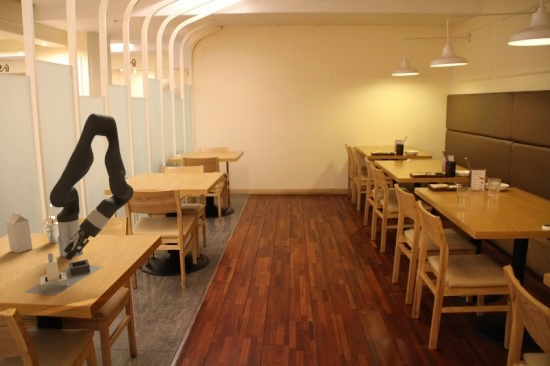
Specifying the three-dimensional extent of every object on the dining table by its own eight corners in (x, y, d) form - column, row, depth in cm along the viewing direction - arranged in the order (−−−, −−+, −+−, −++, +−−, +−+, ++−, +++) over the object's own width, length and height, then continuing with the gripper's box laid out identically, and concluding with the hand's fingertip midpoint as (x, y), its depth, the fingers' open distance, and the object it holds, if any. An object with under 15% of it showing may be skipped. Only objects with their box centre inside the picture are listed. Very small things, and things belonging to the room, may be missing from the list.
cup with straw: (41, 244, 219) (35, 206, 215) (53, 238, 227) (48, 202, 223) (55, 244, 217) (50, 207, 213) (67, 239, 225) (62, 202, 221)
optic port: (41, 292, 160) (40, 284, 159) (40, 283, 167) (39, 276, 167) (67, 286, 164) (66, 278, 163) (66, 278, 172) (65, 271, 171)
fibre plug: (48, 288, 163) (44, 256, 161) (48, 284, 167) (43, 253, 164) (60, 285, 165) (56, 254, 162) (59, 282, 168) (55, 251, 166)
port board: (24, 295, 161) (24, 291, 160) (76, 267, 187) (75, 263, 187) (55, 299, 157) (54, 295, 157) (103, 269, 184) (103, 266, 183)
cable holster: (71, 275, 175) (70, 268, 174) (69, 269, 181) (69, 262, 180) (90, 271, 178) (89, 264, 178) (88, 265, 184) (87, 259, 184)
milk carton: (18, 253, 206) (12, 215, 202) (10, 251, 210) (4, 214, 206) (32, 248, 212) (27, 212, 208) (25, 246, 215) (19, 210, 212)
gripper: (84, 213, 174) (57, 245, 171) (89, 221, 162) (59, 256, 158) (100, 223, 177) (73, 254, 174) (105, 232, 165) (76, 266, 162)
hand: (66, 255), depth 166 cm, fingers open, 8 cm apart
